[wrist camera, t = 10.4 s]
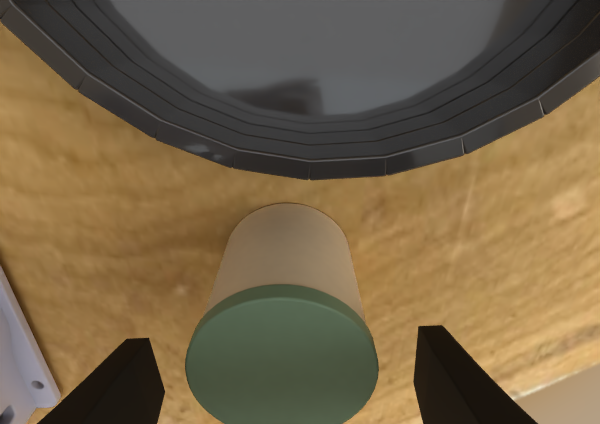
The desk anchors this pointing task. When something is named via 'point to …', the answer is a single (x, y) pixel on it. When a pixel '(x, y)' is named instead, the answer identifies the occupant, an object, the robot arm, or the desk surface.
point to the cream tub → (283, 325)
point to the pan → (319, 74)
